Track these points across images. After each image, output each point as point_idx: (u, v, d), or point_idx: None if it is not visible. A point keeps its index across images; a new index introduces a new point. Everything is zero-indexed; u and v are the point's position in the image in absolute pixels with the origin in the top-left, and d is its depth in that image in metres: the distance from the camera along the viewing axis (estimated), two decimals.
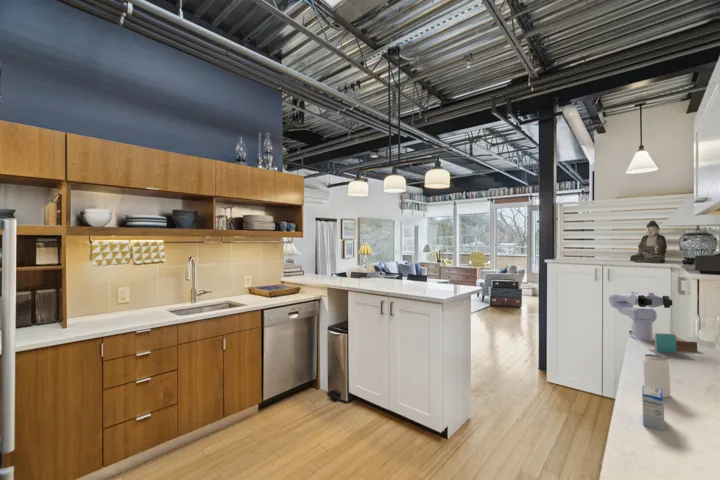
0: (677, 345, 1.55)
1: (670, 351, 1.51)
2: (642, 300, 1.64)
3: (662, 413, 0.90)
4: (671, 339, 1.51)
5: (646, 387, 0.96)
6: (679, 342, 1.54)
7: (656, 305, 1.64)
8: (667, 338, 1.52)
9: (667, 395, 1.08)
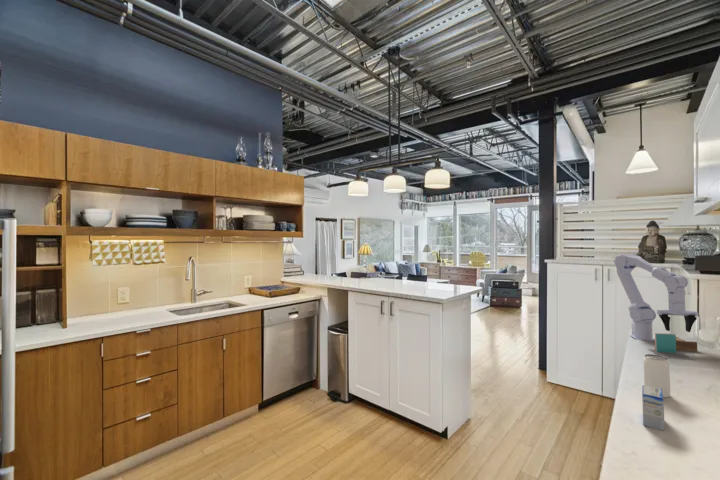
0: (677, 345, 1.55)
1: (670, 351, 1.51)
2: None
3: (662, 413, 0.90)
4: (671, 339, 1.51)
5: (646, 387, 0.96)
6: (679, 342, 1.54)
7: None
8: (667, 338, 1.52)
9: (667, 395, 1.08)
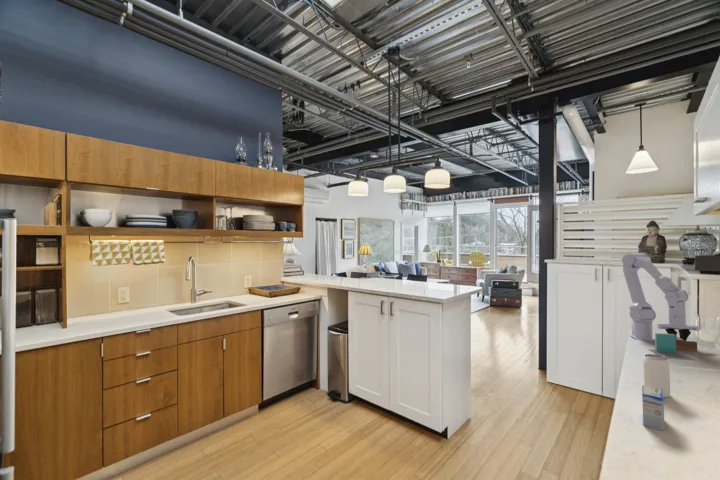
0: (677, 345, 1.55)
1: (670, 351, 1.51)
2: None
3: (662, 413, 0.90)
4: (671, 339, 1.51)
5: (646, 387, 0.96)
6: (679, 342, 1.54)
7: None
8: (667, 338, 1.52)
9: (667, 395, 1.08)
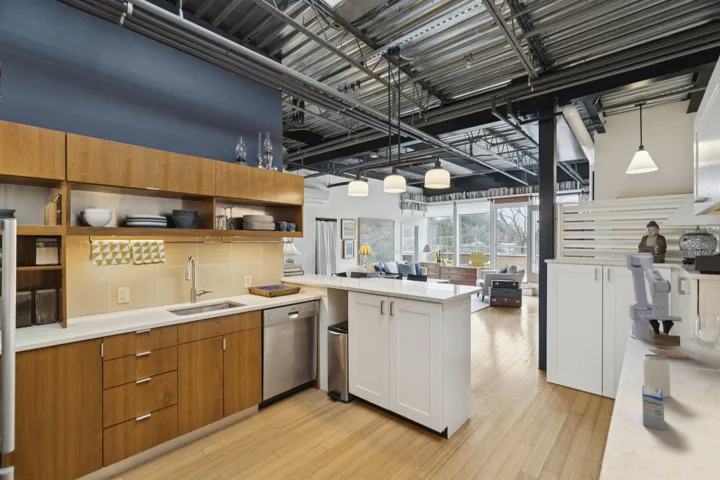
0: (660, 339, 1.51)
1: None
2: None
3: (662, 413, 0.90)
4: None
5: (646, 387, 0.96)
6: (662, 336, 1.51)
7: None
8: None
9: (667, 395, 1.08)
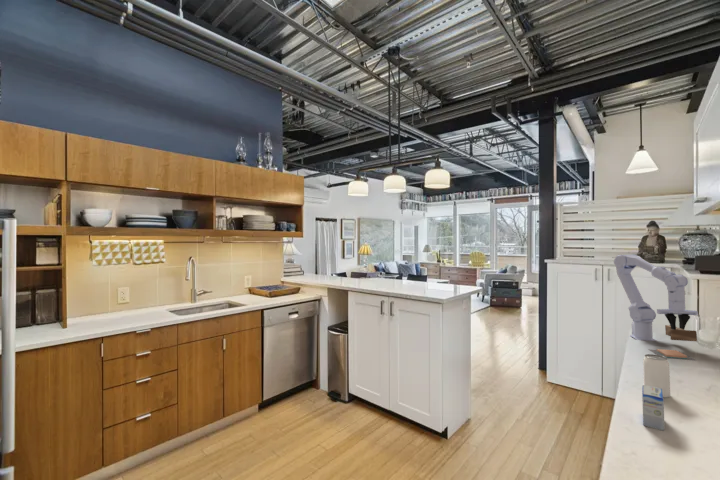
0: (677, 334, 1.55)
1: None
2: None
3: (662, 413, 0.90)
4: None
5: (646, 387, 0.96)
6: (678, 331, 1.55)
7: None
8: None
9: (667, 395, 1.08)
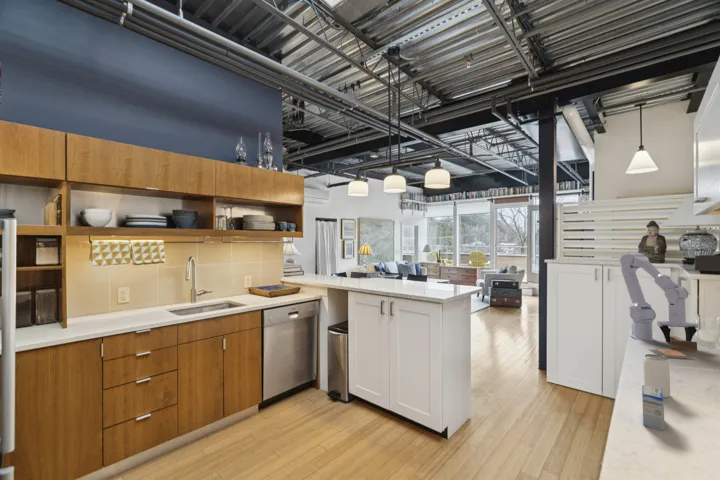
0: (677, 345, 1.55)
1: None
2: None
3: (662, 413, 0.90)
4: None
5: (646, 387, 0.96)
6: (679, 342, 1.55)
7: None
8: None
9: (667, 395, 1.08)
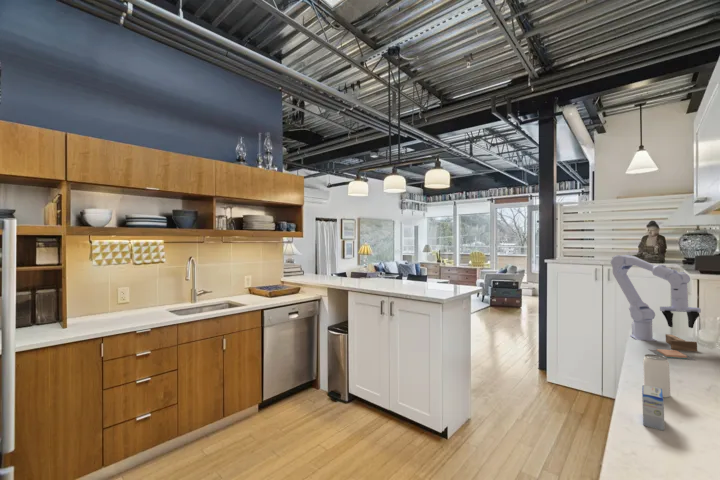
0: (677, 345, 1.55)
1: None
2: None
3: (662, 413, 0.90)
4: None
5: (646, 387, 0.96)
6: (679, 342, 1.55)
7: None
8: None
9: (667, 395, 1.08)
